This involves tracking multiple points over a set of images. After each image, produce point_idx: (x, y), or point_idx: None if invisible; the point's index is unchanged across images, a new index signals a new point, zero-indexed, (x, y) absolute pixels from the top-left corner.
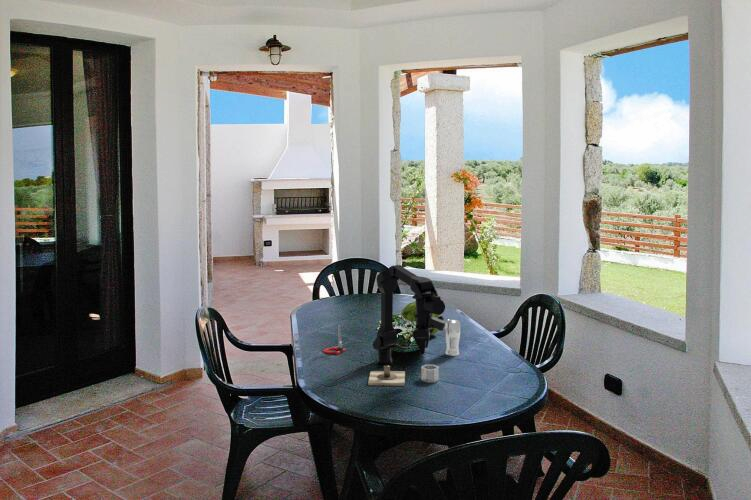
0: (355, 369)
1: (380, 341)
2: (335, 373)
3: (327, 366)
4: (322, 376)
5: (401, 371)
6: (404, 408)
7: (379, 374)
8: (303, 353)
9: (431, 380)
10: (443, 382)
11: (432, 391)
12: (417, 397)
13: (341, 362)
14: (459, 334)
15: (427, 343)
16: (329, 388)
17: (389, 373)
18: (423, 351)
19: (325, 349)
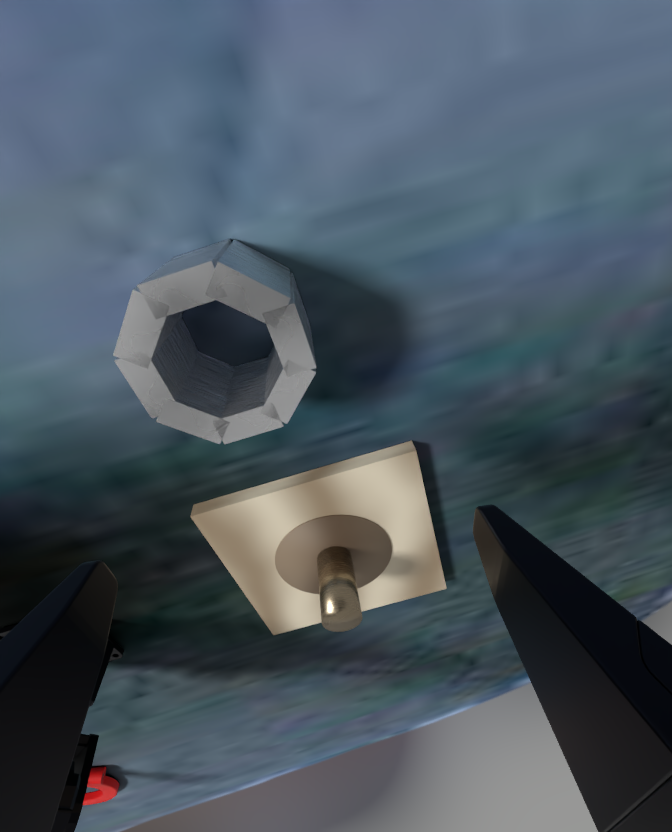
0: (248, 675)
1: (77, 821)
2: (326, 697)
3: (259, 736)
4: (373, 708)
5: (206, 530)
6: None
7: (308, 593)
8: (163, 810)
9: (298, 295)
10: (254, 181)
11: (497, 225)
12: (620, 302)
13: (188, 729)
14: None
15: (59, 630)
16: (496, 654)
17: (341, 565)
18: (525, 541)
19: (87, 803)
